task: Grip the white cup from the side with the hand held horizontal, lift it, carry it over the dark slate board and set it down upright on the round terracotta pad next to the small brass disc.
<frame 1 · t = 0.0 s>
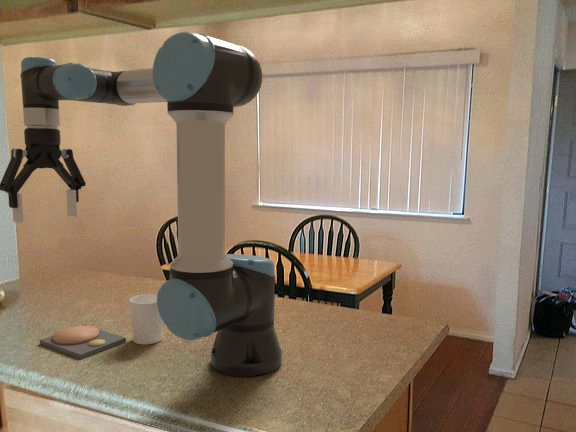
hand: (46, 219, 122), 28 cm above the kitchen counter, tool pointing down, fingers open, 13 cm apart
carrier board: (83, 342, 119), on the kitchen counter
white cup: (147, 340, 122), on the kitchen counter
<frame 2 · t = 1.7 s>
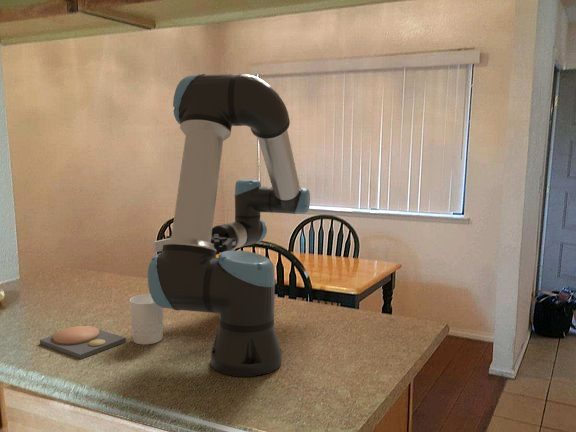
hand: (174, 250, 127), 20 cm above the kitchen counter, tool horizontal, fingers open, 13 cm apart
nothing on the kitchen counter moved.
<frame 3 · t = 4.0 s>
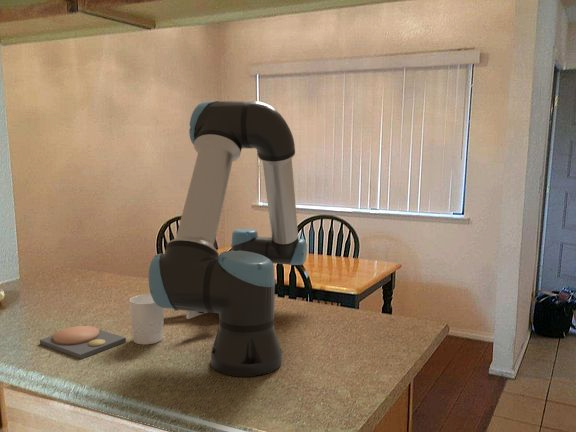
hand: (167, 308, 127), 6 cm above the kitchen counter, tool horizontal, fingers open, 13 cm apart
nothing on the kitchen counter moved.
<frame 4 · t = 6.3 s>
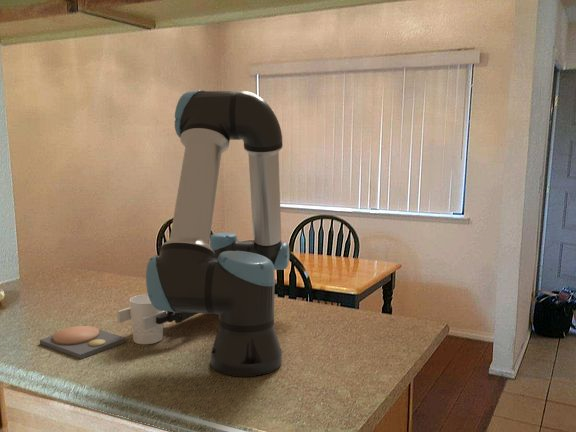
hand: (131, 320, 117), 6 cm above the kitchen counter, tool horizontal, fingers closed on white cup, 8 cm apart
white cup: (147, 340, 122), on the kitchen counter, touching gripper
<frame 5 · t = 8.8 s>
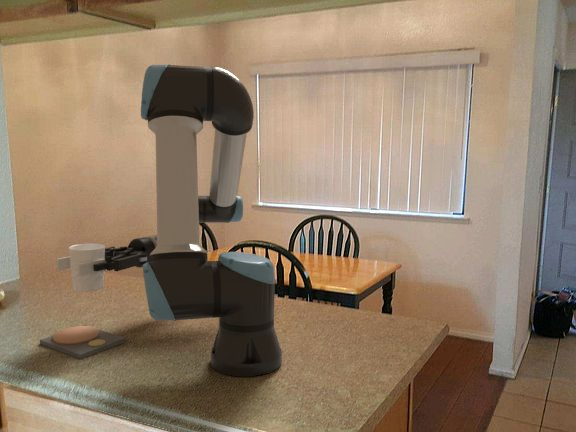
hand: (68, 267, 116), 18 cm above the kitchen counter, tool horizontal, fingers closed on white cup, 8 cm apart
white cup: (88, 289, 121), point 12 cm above the kitchen counter, touching gripper
when the fingers open (9 cm above the kitchen counter, at t = 11.1 s): white cup drops 1 cm, resting on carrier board.
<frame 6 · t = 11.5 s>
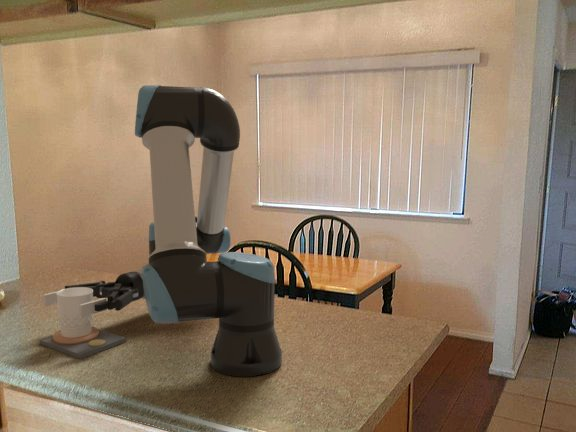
hand: (61, 305, 117), 9 cm above the kitchen counter, tool horizontal, fingers open, 13 cm apart
white cup: (76, 333, 121), point 2 cm above the kitchen counter, touching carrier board
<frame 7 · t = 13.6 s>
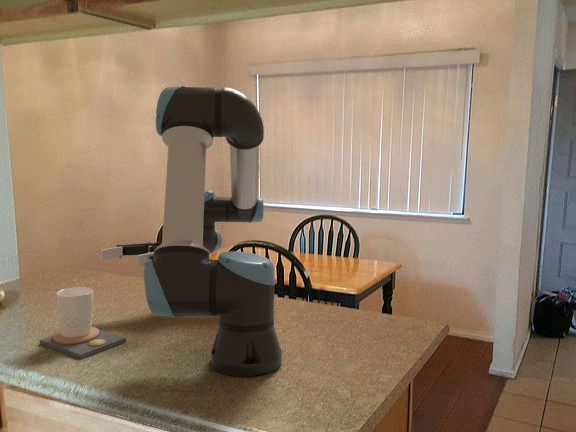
hand: (118, 257, 129), 18 cm above the kitchen counter, tool horizontal, fingers open, 13 cm apart
nothing on the kitchen counter moved.
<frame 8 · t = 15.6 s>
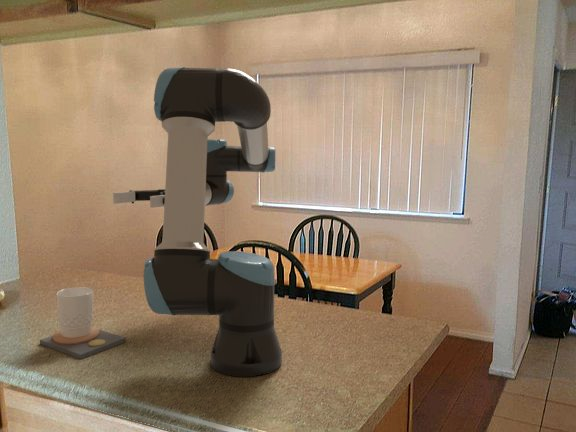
hand: (132, 200, 128), 32 cm above the kitchen counter, tool horizontal, fingers open, 13 cm apart
nothing on the kitchen counter moved.
at the end: white cup inside the target area (0.1 cm from its centre), point 1.6 cm above the kitchen counter; white cup tilted 0°; the gripper is holding nothing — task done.
